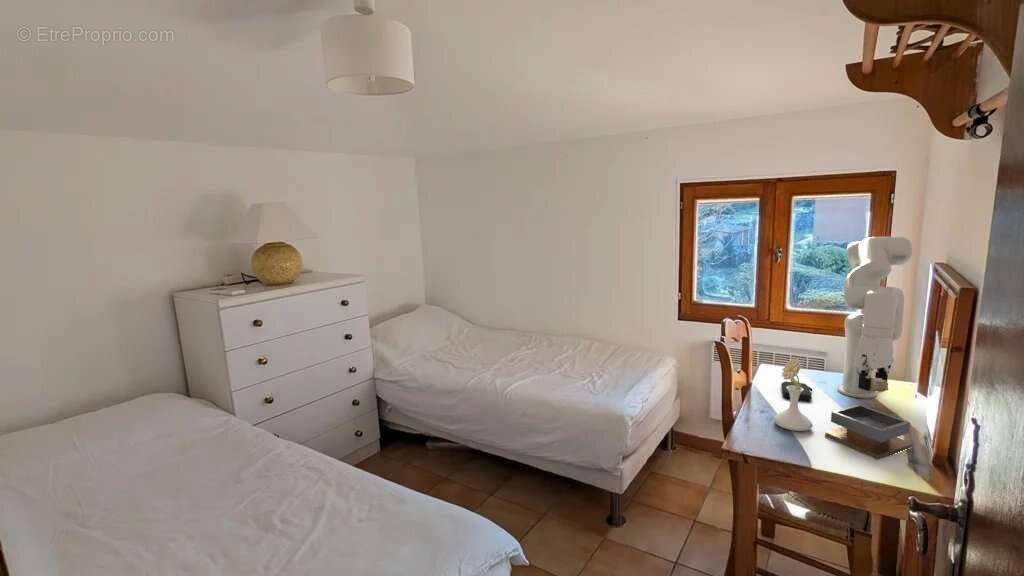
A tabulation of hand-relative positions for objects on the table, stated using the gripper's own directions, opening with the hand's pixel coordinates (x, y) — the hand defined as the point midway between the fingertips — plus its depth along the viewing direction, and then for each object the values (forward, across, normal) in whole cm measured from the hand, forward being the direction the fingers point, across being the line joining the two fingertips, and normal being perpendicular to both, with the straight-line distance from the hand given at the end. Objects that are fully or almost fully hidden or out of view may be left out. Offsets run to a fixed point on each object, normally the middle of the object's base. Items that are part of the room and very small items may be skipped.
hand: (872, 386), depth 146 cm
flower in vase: (+19, +11, -17) cm, 28 cm away
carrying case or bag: (+19, -15, -36) cm, 43 cm away
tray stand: (+18, 0, 0) cm, 18 cm away
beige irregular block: (+2, -1, 0) cm, 2 cm away
